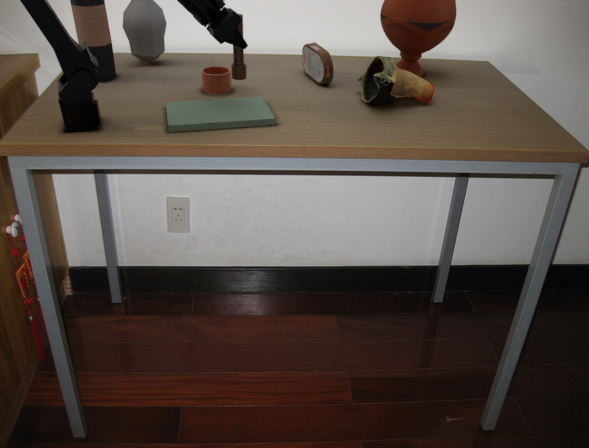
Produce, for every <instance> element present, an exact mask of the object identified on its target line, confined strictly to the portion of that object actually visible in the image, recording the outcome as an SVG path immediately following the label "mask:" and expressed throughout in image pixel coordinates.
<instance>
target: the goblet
mask: <svg viewBox="0 0 589 448" xmlns="http://www.w3.org/2000/svg"><path fill="white" fill-rule="evenodd" d="M380 8H381V9H380V16H379V19H380V24H381V28H382V30H383V33H384V35H385V36H386V39H388V41H389V42H390V44H392V46H393V47H395V48H396V49H397V50H398V51H399V56H400V58H401V59H400V60H399V61H398V62H397V63H395V65H396V66H397V67H398V68H399V69H402V70H406V71H408V72H411V73H413V74H415V75H417V76H419V77H421V78H422V77H423V76H424V70H423V68H422V66H421V64H420V62H419V60H420V59H421V58H422V55H423V54H424V53H427V52H429V51H431V50H433V49H435V48H436V47H437V46H438V45H440V44H441V43H443V42H444V40H446V39H447V38H448V36H449V35H450V34H451V32H452V30H453V29H454V26H455V24H456V19H457V1H456V0H383V2H382V5H381V7H380Z"/></svg>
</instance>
